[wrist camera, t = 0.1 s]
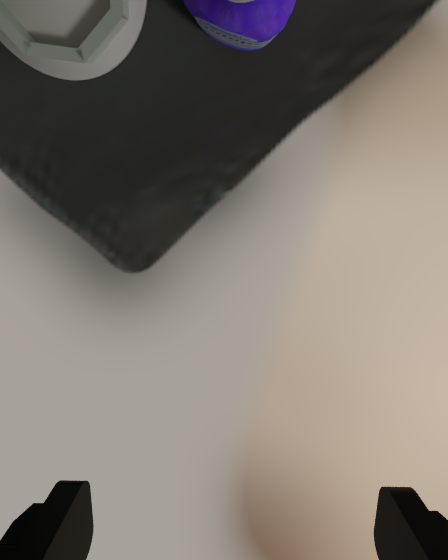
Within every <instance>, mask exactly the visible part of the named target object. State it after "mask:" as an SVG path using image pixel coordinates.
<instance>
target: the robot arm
mask: <svg viewBox="0 0 448 560" xmlns="http://www.w3.org/2000/svg"><path fill="white" fill-rule="evenodd" d="M92 536H93V515H92V504H91V492H90V484H89V482H88V481H59V482H57V483H56V485H55V486H54V488H53V489H52V491H51V492H50V494H49V496H48V497H47V499H46V500H45V502H44V503H33V504H32V505H31V506H30V507H29V508H28V509H27V510H26V511H25V512H23V513H22V514H21V515H20V516H19V517H18V518H17V519H16V520H14V521H13V523H12V524H11V525H10V527H9V529H8V530H7V531H6V533H5V534H4V536H3V537H2V539H1V540H0V560H86V558H87V555H88V553H89V550H90V546H91V542H92ZM374 541H375V547H376V551H377V555H378V558H379V560H448V520H447V519H446V518H445V517H443V515H441V514H440V513H439V512H438V511H429V510H428V509H427V507H426V506H425V504H424V503H423V502H422V500H421V499H420V497H419V496H418V494H417V493H416V491H415V490H414V489H412V488H410V487H381V489H380V491H379V497H378V505H377V512H376V519H375V526H374Z"/></svg>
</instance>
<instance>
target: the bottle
mask: <svg viewBox="0 0 448 560" xmlns="http://www.w3.org/2000/svg"><path fill="white" fill-rule="evenodd" d="M183 1H184V3H185V5H186V7H187V9H188V10H189V12H190V13H191V14H192V16H193V17H194V18H195V20H196V21H197V22H198V24H199V26H200V27H201V28H202V30H203V31H204V32H205V33H206V34H207V35H209V36H210V37H211V38H213V39H214V40H216V41H218V42H220V43H222V44H224V45H227V46H229V47H232V48H236V49H240V50H246V51H252V50H258V49H261V48H263V47H265V46H266V45H267V44H268V43H269V42H270V41H271V40H272V39H273V38H274V37H275V36H276V35H277V34H278V33H279V32H280V31H281V30H282V29H283V28H284V26H285V25H286V23H287V20H288V18H289V16H290V14H291V13H292V11H293V8H294V4H295V2H296V0H183Z"/></svg>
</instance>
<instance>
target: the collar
mask: <svg viewBox="0 0 448 560" xmlns="http://www.w3.org/2000/svg"><path fill="white" fill-rule="evenodd" d="M147 2H148V0H0V41H1V42H2V43H3V44H4V45H5V46H6V47H7V48H8V49H9V50H10V51H11V52H12V53H13V54H14V55H16V56H17V57H18V58H19V59H21V60H22V61H23V62H25V63H26V64H28V65H29V66H31V67H33V68H34V69H36V70H38V71H40V72H42V73H44V74H47V75H50V76H53V77H56V78H61V79H66V80H86V79H92V78H96V77H100V76H102V75H104V74H106V73H108V72H110V71H111V70H113V69H114V68H116V67H117V66H118V65H119V64H120V63H121V62H122V61H123V60H124V59H125V58H126V57H127V56H128V54H129V53H130V52H131V50H132V49H133V47H134V45H135V43H136V42H137V40H138V37H139V35H140V32H141V30H142V27H143V23H144V19H145V15H146V9H147Z"/></svg>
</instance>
